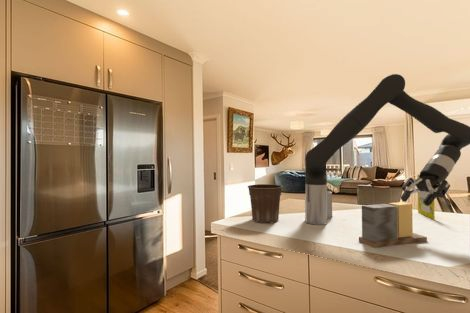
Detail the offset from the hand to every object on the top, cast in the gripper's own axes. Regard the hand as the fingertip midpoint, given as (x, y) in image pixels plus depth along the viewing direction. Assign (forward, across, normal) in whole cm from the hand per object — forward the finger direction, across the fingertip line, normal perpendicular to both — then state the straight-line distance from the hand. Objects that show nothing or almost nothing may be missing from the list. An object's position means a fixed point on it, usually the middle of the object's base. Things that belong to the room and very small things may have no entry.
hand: (413, 202), depth 92 cm
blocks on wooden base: (+16, 0, +2) cm, 16 cm away
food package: (-18, -26, +37) cm, 49 cm away
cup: (+16, -41, +3) cm, 44 cm away
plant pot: (+38, -42, -19) cm, 59 cm away
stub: (+12, 0, +3) cm, 13 cm away
